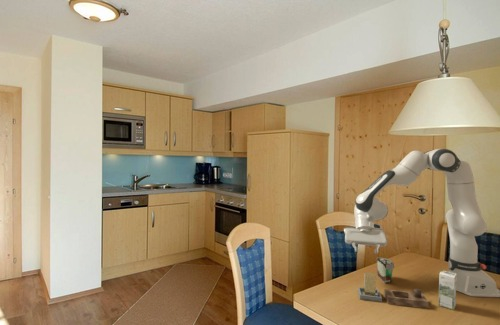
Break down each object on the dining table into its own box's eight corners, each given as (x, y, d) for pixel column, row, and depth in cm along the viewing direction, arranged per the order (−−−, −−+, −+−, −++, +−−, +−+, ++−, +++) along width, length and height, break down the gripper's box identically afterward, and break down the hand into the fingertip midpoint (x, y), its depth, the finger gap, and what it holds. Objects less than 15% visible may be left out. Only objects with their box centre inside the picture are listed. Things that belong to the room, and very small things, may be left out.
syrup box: (456, 305, 127) (457, 273, 127) (453, 310, 123) (454, 277, 123) (440, 301, 131) (441, 269, 131) (438, 305, 127) (439, 273, 127)
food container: (398, 285, 147) (398, 265, 147) (386, 284, 147) (386, 265, 147) (387, 275, 159) (387, 257, 159) (376, 274, 160) (376, 256, 159)
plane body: (422, 299, 132) (422, 286, 132) (428, 308, 125) (428, 295, 124) (384, 295, 136) (384, 282, 136) (388, 303, 128) (388, 290, 128)
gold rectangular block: (373, 294, 136) (374, 273, 136) (375, 297, 133) (375, 276, 132) (363, 293, 137) (364, 272, 137) (364, 296, 134) (365, 275, 133)
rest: (378, 293, 138) (378, 289, 138) (381, 302, 130) (381, 297, 130) (357, 291, 140) (357, 287, 140) (360, 299, 132) (360, 295, 132)
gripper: (344, 223, 155) (345, 247, 146) (385, 226, 150) (389, 250, 141) (343, 229, 159) (344, 253, 150) (383, 232, 154) (387, 256, 145)
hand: (366, 252), depth 145 cm, fingers open, 8 cm apart
